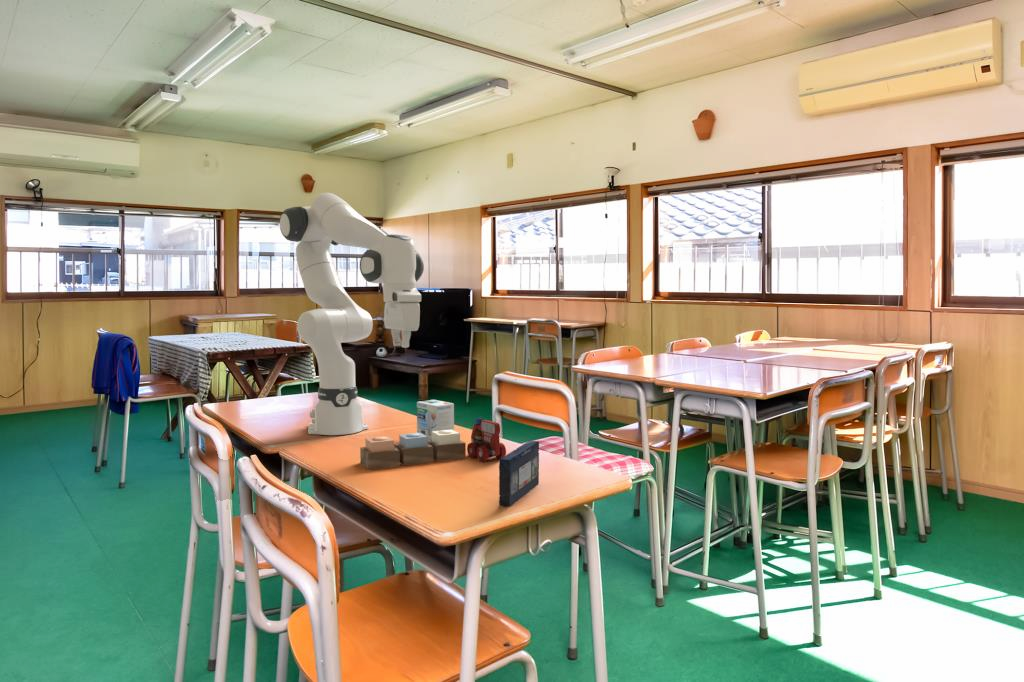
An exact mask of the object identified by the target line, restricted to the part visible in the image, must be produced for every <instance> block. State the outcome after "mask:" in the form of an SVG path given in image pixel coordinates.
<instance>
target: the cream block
mask: <svg viewBox="0 0 1024 682" xmlns="http://www.w3.org/2000/svg"><path fill="white" fill-rule="evenodd" d="M460 440H461V433H460V432H458V431H456V430H455V429H454V430H452V429H451V430H441V431H432V442H434V443H436V444H437V445H446V444H454V443H460Z"/></svg>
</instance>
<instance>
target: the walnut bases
mask: <svg viewBox="0 0 1024 682" xmlns="http://www.w3.org/2000/svg"><path fill="white" fill-rule="evenodd" d="M466 446H467V445H466V442H464V441H462V440H461V439H460V443H454V444H446V445H437V444H436V443H434V442H432V440H429V439H428V447H419V448H410V449H405V448H403V447H402V446H400V445H399V442H398V443H394V450H392V451H383V452H374V453H370V452H369V451H368V450H366V446H363V447H361V446H360V447H359V448H360V449H359V450H360V451H359V453H360V463H361V465H363V466H364V468H366V469H367V470H368V471H370V470H379V469H386V468H394V467H401V465H402V466H411V465H419V464H428V463H433V462H434V461H436V462H442V461H450V460H451V461H452V460H459V459H466V458H467V455H466V454H467V453H466V451H467V448H466Z"/></svg>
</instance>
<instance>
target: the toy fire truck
mask: <svg viewBox="0 0 1024 682" xmlns="http://www.w3.org/2000/svg"><path fill="white" fill-rule="evenodd" d="M472 426H473V427H472V430H471V434H470V435H471V436H470V440H471V441H470V442H469V443H468V444H467V445H466V446H467V448H466V451H467V454H468V456H469V457H470V458H471V459H472V458H473V459H474V458H477V459H478V460H479V462H481V463H484V462H487V461H488V460H489V458H492V457H495V458H496V459H499V460H500V459H501V458H503V457H504V456H506V455H507V448H506V446H505V444H504V443H502V442H500V441H501V439H500V434H501V425H500V422H496V421H491V420H488V419H484V420H483V418H482V417H477V418H476V419H475V423H474V424H473V425H472Z"/></svg>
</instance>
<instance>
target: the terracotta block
mask: <svg viewBox="0 0 1024 682" xmlns="http://www.w3.org/2000/svg"><path fill="white" fill-rule="evenodd" d="M364 440H365V442H364V443H365V447H366V450H368V451H369V452H370V453H374V452H383V451H392V450H394V444H395V440H394V439H393V438H391V437H389V436H388V435H385V436H373V437H366V438H365V439H364Z"/></svg>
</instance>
